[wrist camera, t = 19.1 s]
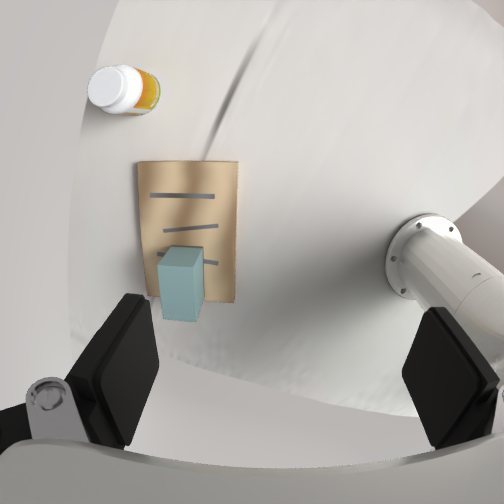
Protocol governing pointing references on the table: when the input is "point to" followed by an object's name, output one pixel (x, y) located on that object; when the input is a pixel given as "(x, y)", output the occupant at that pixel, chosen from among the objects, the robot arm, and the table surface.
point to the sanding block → (182, 282)
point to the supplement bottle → (124, 90)
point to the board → (190, 219)
